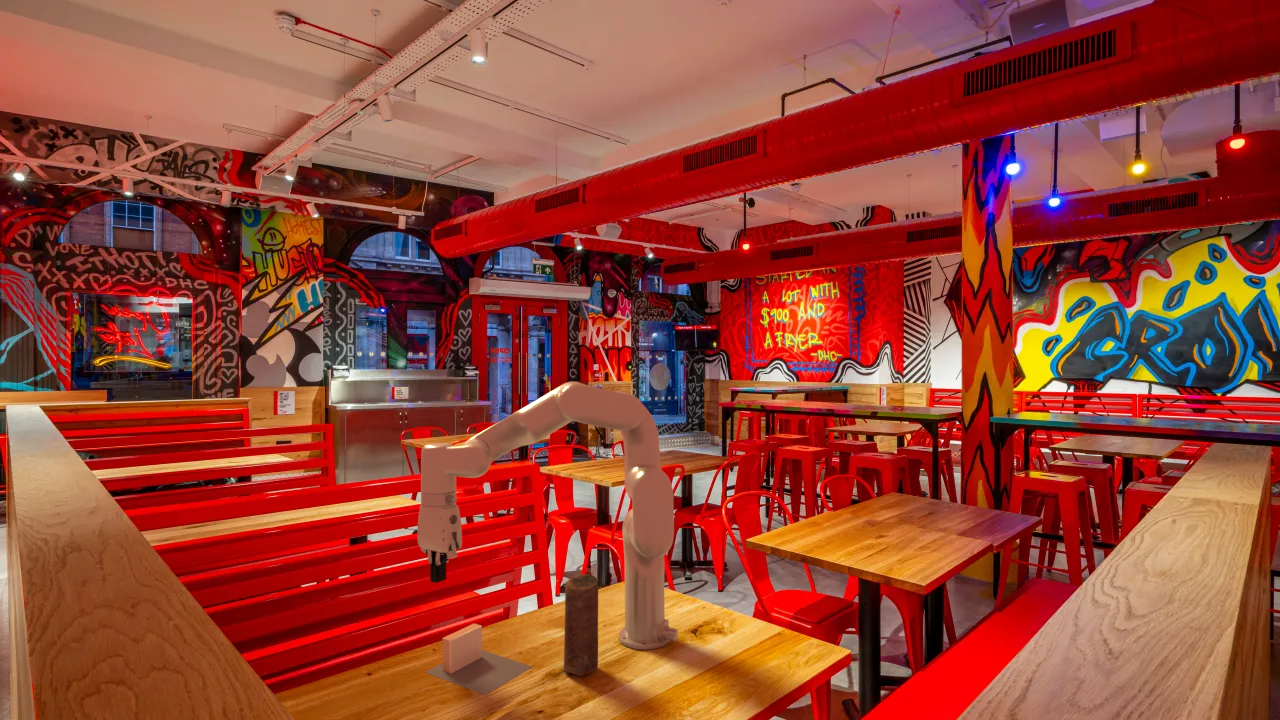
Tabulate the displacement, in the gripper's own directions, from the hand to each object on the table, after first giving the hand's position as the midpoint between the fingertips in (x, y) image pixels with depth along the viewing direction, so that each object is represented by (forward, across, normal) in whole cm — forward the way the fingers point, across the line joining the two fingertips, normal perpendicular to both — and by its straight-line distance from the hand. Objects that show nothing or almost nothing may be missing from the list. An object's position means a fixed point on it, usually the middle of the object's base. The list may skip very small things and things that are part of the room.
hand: (438, 580), depth 150 cm
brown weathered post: (+18, -30, -13) cm, 38 cm away
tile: (+17, -8, 0) cm, 19 cm away
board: (+18, -12, 0) cm, 22 cm away
